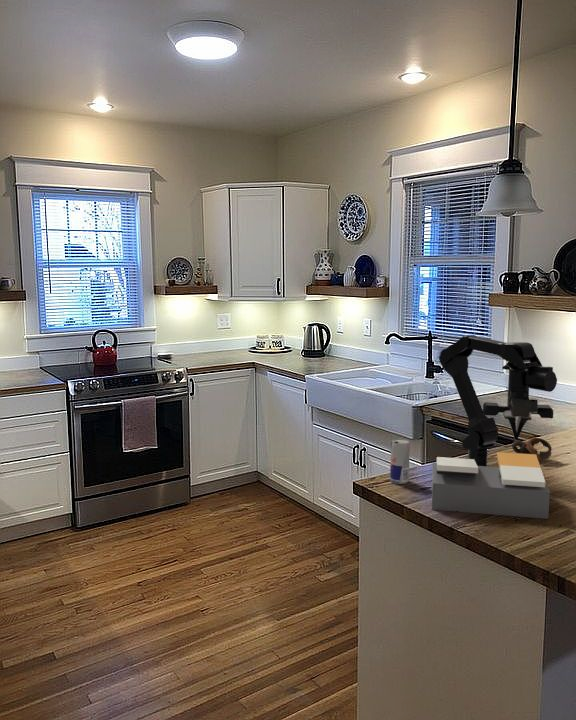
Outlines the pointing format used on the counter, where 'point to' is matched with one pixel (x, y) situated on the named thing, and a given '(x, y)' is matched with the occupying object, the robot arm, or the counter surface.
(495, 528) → the counter surface
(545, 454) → the brown chain link decor
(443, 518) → the counter surface
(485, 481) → the switch strip
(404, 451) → the energy drink
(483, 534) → the counter surface
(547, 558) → the counter surface
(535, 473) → the orange and white panel
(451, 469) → the rocker plain
